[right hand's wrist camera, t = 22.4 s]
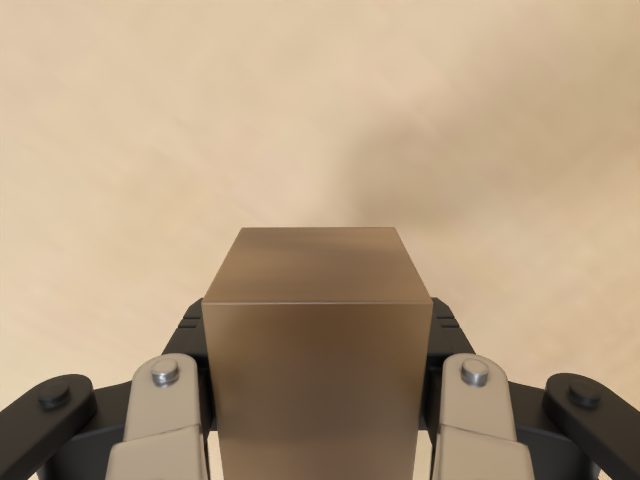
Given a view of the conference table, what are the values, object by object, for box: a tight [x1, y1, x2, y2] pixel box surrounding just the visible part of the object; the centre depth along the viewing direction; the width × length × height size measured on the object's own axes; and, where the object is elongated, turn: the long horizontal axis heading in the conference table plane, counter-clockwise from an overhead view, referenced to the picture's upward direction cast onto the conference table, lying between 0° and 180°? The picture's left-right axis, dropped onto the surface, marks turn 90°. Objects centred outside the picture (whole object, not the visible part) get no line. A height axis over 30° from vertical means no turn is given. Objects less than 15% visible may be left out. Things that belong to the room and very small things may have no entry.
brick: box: [201, 227, 433, 480], centre depth 11 cm, size 5×5×4 cm
